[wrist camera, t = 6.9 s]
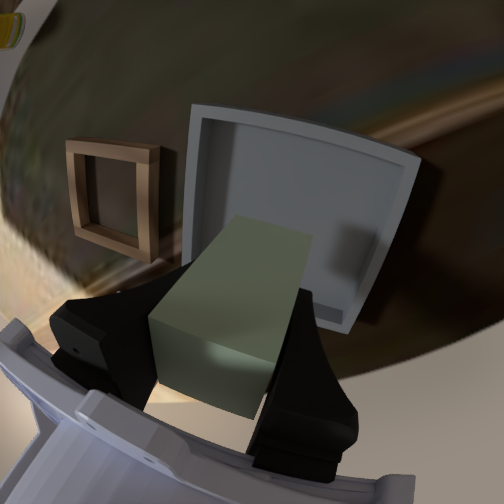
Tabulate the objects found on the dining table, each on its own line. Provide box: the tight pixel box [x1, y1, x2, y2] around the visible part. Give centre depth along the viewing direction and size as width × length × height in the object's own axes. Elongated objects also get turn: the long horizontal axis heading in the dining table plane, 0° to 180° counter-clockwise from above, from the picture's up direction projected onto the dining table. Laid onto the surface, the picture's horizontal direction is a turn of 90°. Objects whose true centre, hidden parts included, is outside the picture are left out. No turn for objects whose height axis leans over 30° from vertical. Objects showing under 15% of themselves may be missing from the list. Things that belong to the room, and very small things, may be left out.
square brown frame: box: [66, 137, 160, 264], centre depth 24 cm, size 10×10×2 cm
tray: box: [182, 103, 421, 334], centre depth 20 cm, size 14×14×2 cm
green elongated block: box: [148, 214, 313, 420], centre depth 12 cm, size 4×4×8 cm
